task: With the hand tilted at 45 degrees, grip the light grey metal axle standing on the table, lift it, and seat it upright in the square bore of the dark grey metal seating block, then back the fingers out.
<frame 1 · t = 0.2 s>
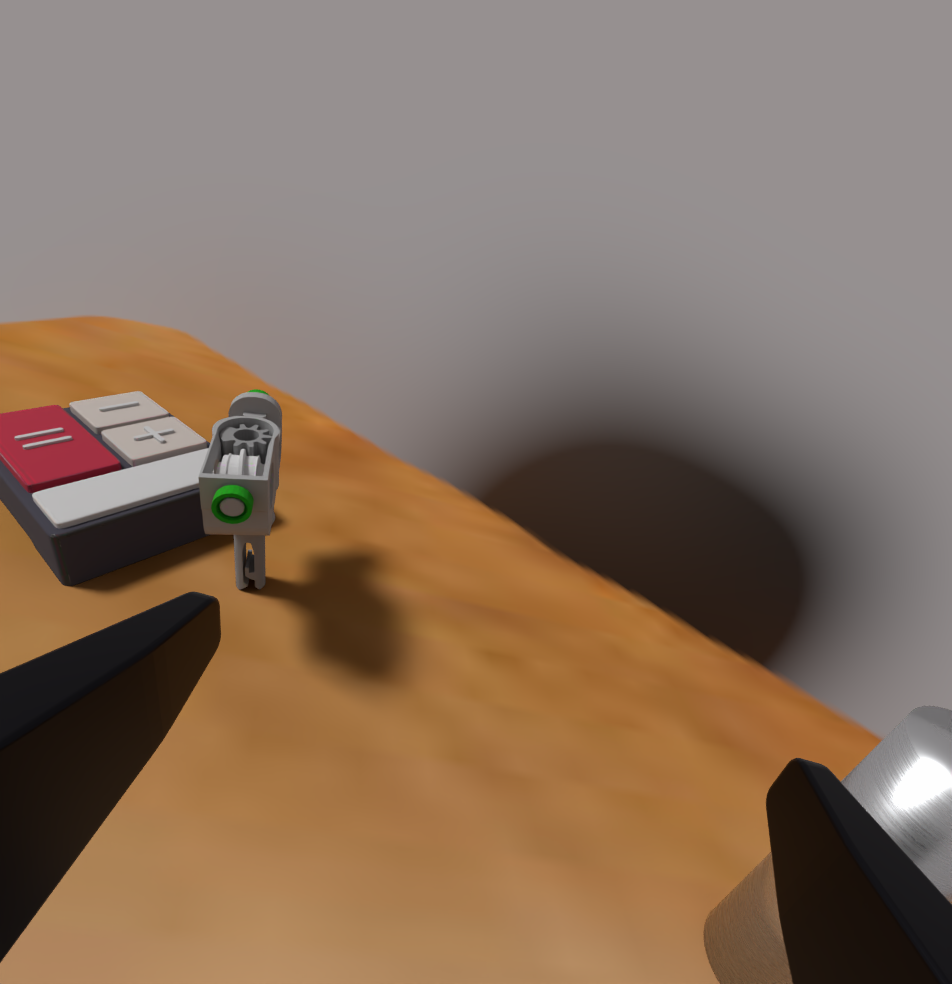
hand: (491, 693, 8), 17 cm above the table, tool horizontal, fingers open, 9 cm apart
mechanical component: (250, 585, 32), on the table
axle: (749, 957, 21), on the table
calculator: (117, 496, 37), on the table
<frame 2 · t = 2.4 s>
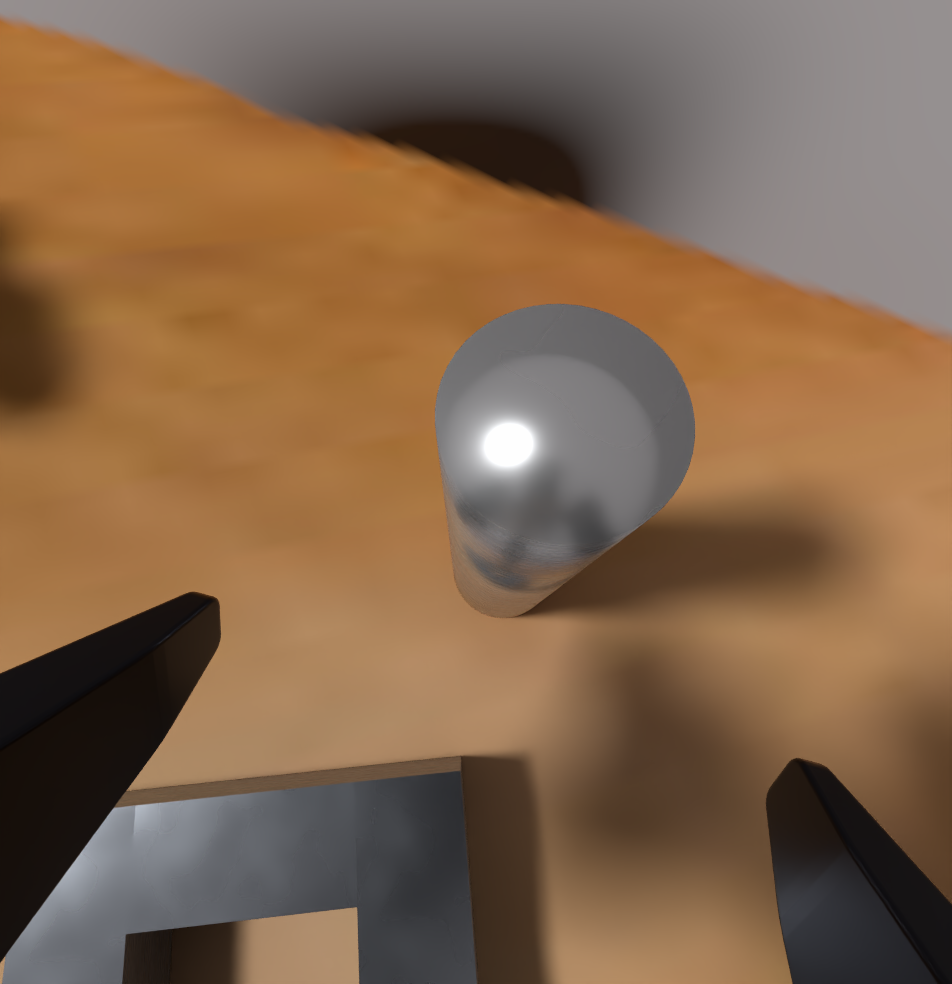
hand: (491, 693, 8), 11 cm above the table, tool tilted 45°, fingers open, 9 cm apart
axle: (502, 568, 20), on the table
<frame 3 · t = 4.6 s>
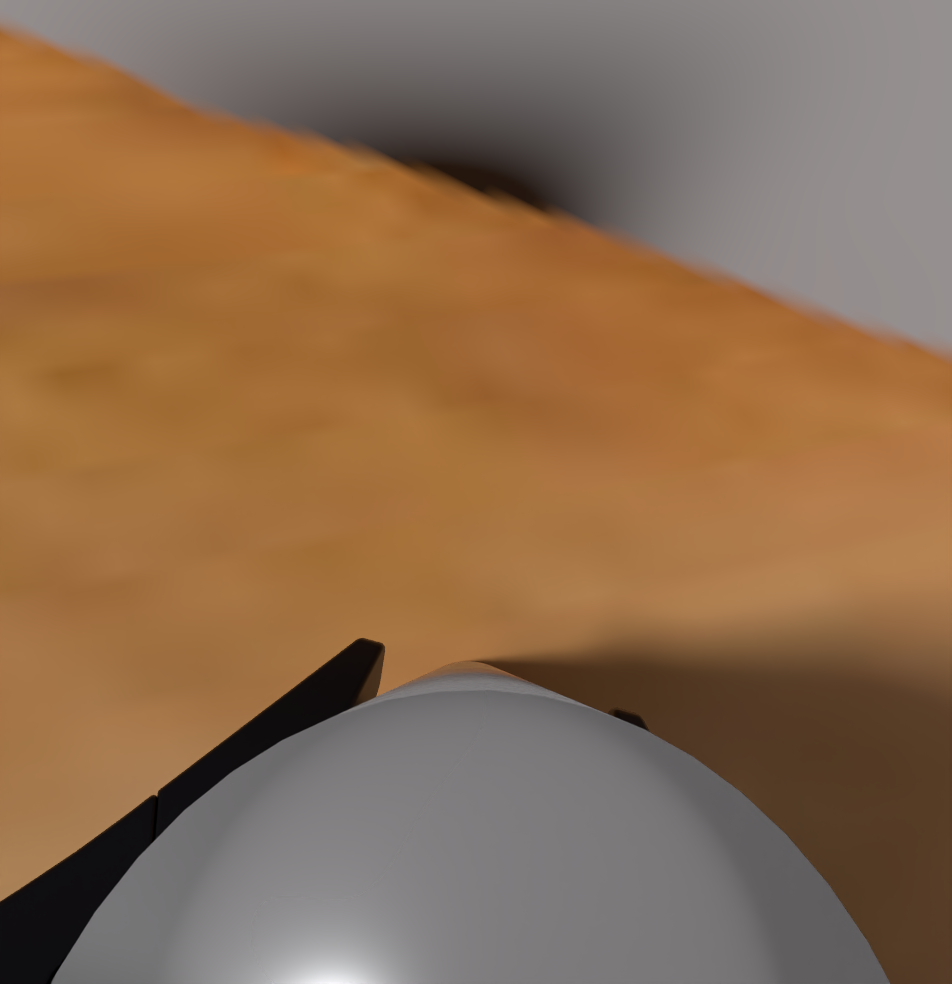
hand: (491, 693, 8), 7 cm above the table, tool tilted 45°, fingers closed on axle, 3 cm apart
axle: (467, 731, 14), on the table, touching gripper
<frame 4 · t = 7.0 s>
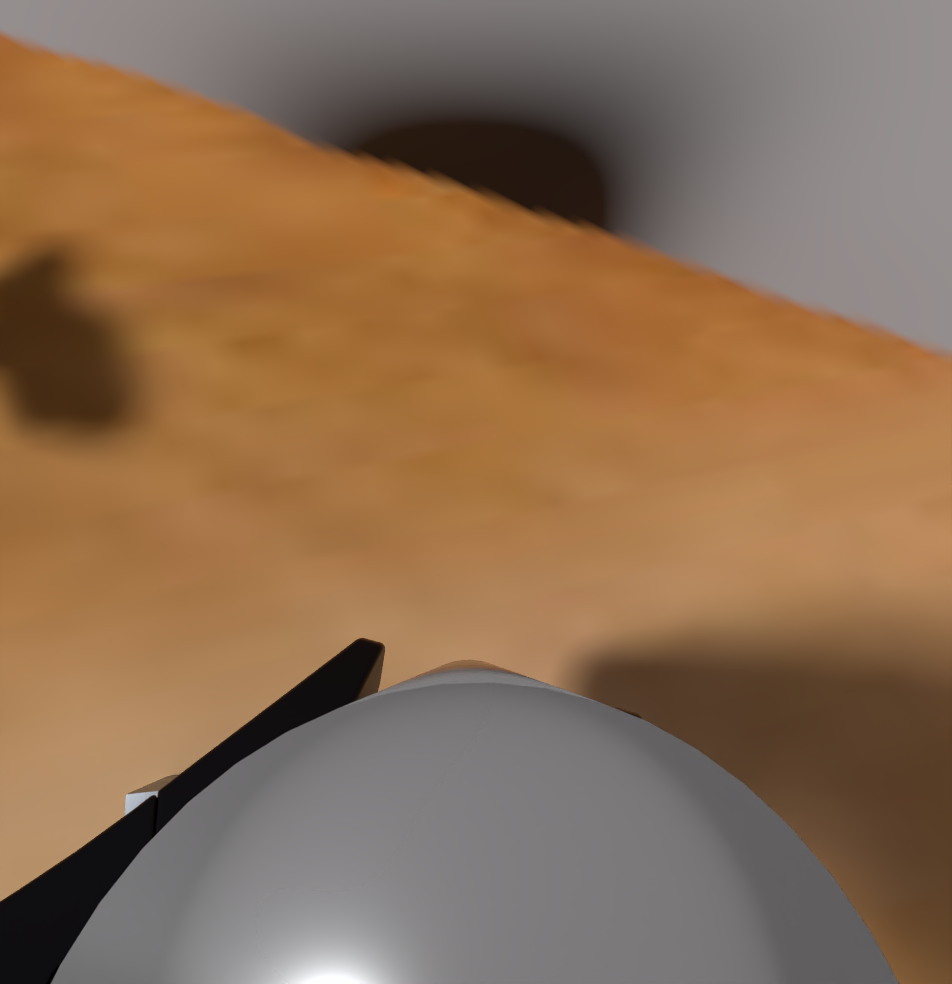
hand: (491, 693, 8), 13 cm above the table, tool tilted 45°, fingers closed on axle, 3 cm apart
seating block: (339, 953, 18), on the table
axle: (468, 729, 14), point 6 cm above the table, touching gripper
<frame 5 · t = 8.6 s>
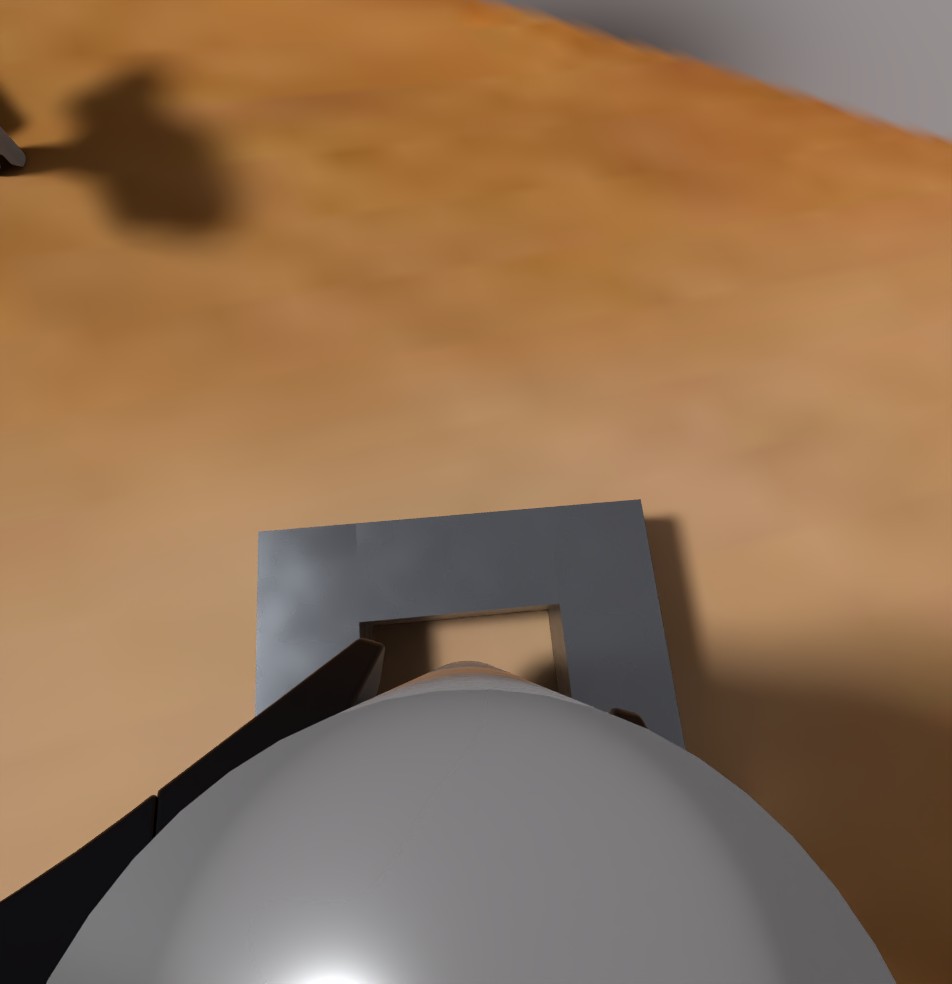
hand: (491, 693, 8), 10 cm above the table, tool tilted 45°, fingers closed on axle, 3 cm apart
mechanical component: (10, 166, 24), on the table
seating block: (468, 711, 18), on the table
axle: (467, 731, 14), point 4 cm above the table, touching gripper
when the fingers open (7 cm above the table, at t = 9.5 s): axle stays where it is, resting in seating block.
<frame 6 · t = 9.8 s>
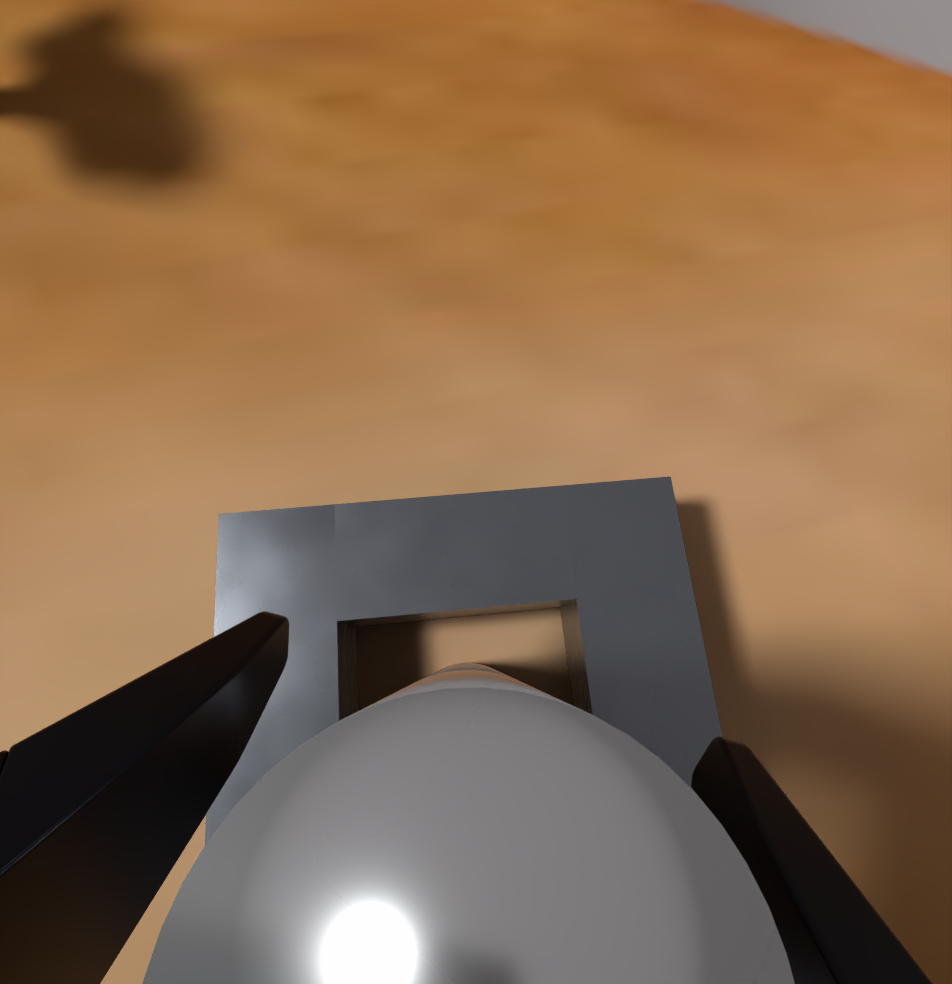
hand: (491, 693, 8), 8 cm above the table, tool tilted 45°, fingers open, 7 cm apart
seating block: (467, 726, 15), on the table
axle: (467, 728, 15), resting in seating block
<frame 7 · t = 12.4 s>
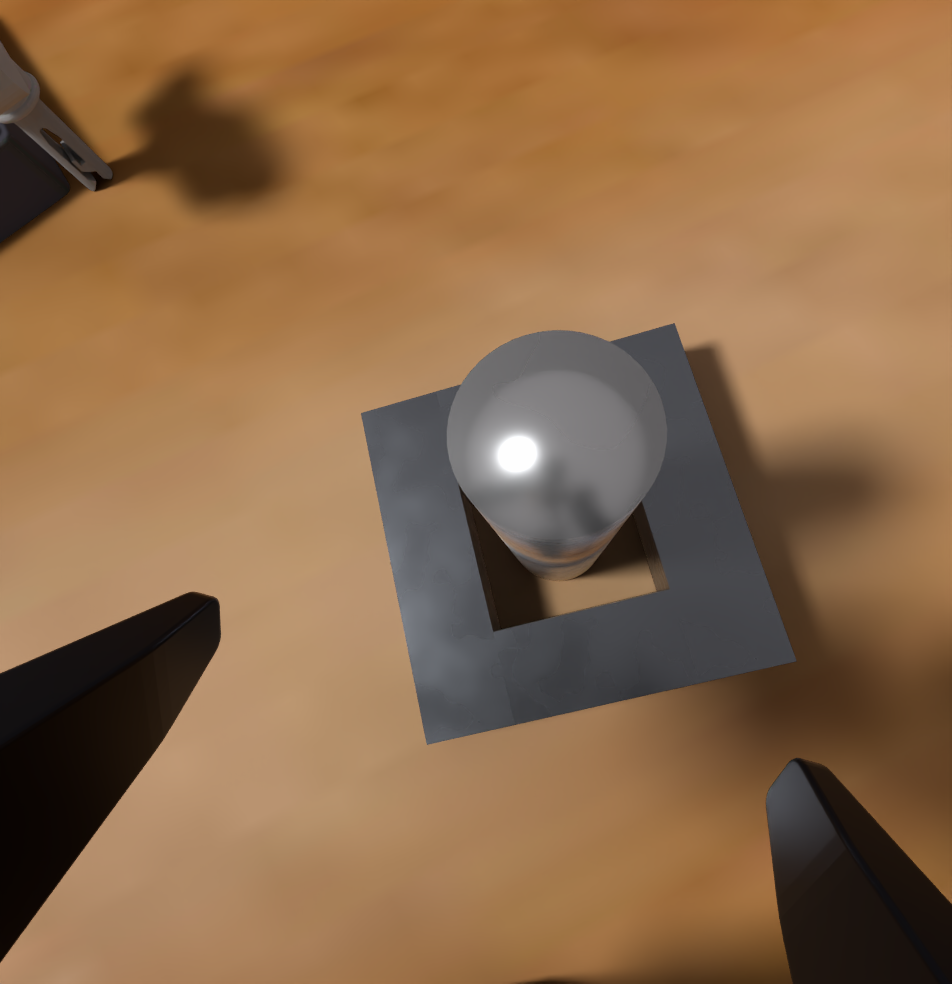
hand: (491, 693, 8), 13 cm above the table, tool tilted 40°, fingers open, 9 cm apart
mechanical component: (102, 181, 29), on the table
seating block: (556, 533, 21), on the table
axle: (556, 535, 21), resting in seating block
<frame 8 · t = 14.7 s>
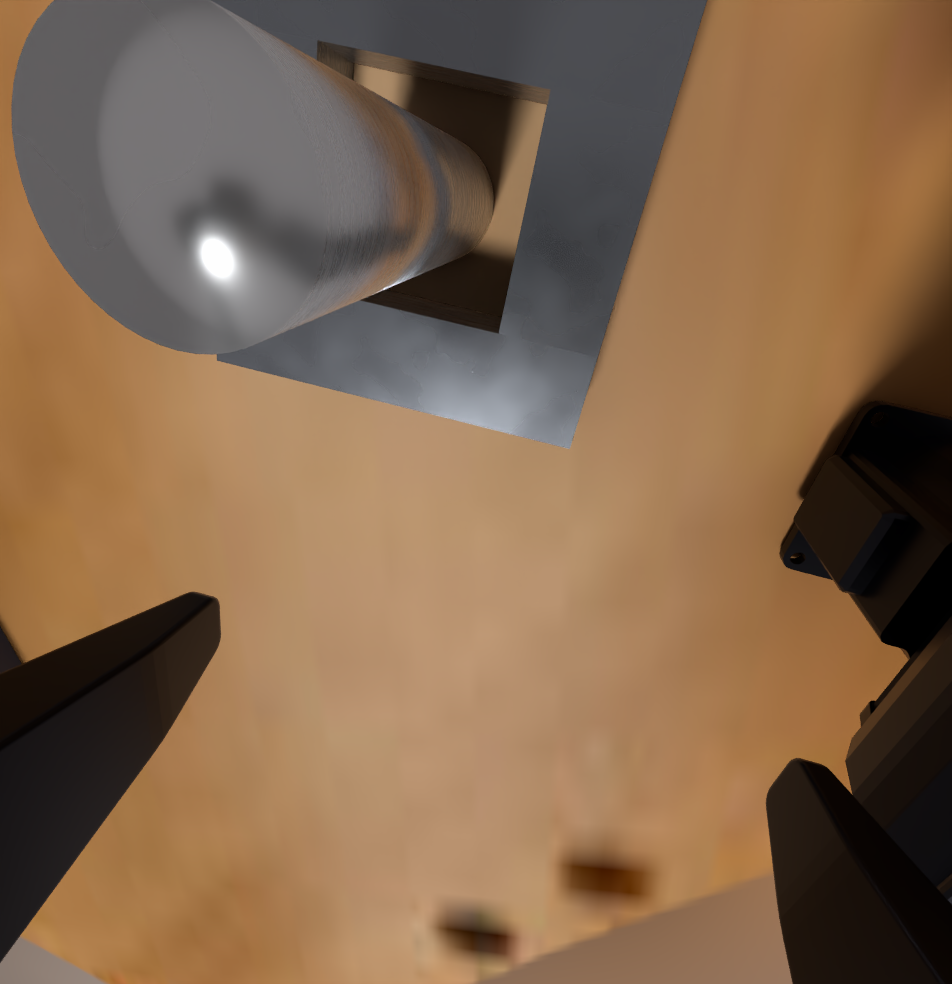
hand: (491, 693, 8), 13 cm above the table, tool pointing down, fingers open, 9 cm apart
seating block: (436, 200, 17), on the table
axle: (438, 201, 17), resting in seating block
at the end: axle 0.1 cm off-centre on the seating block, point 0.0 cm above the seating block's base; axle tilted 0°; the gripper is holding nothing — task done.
